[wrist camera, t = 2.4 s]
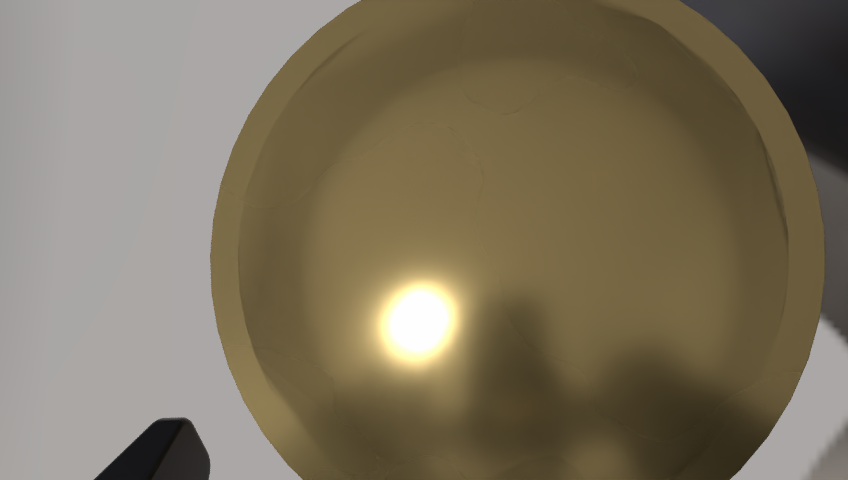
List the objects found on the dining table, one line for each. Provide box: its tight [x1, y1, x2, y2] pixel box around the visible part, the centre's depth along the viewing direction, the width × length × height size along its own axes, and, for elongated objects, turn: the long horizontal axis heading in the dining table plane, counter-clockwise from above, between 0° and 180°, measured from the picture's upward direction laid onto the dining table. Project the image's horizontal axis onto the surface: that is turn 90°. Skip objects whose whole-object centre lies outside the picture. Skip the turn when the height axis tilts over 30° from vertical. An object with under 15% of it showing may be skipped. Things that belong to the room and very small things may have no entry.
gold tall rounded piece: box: [210, 0, 825, 480], centre depth 13 cm, size 5×5×13 cm
